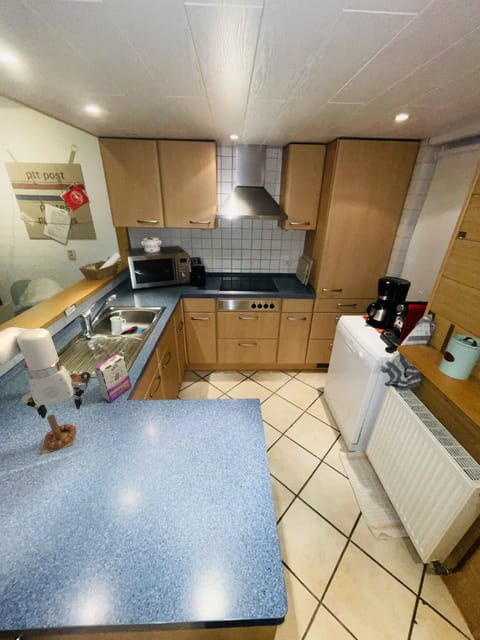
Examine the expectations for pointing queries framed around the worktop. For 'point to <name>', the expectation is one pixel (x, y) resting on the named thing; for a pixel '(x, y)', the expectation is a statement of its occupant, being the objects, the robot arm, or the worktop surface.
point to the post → (56, 435)
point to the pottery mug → (81, 378)
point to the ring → (53, 445)
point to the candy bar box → (113, 377)
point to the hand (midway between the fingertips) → (62, 410)
